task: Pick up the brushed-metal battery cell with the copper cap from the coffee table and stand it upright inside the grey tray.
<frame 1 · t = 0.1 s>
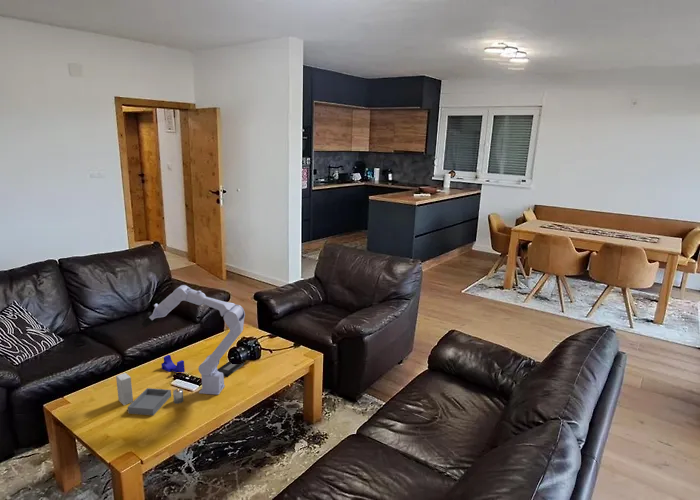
hand: (148, 322, 203), 32 cm above the table, tool tilted 50°, fingers open, 7 cm apart
cell: (178, 401, 198), on the table
skincare box: (125, 401, 198), on the table
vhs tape: (230, 370, 227), on the table
cable clip: (173, 370, 225), on the table
grey tray: (150, 404, 196), on the table
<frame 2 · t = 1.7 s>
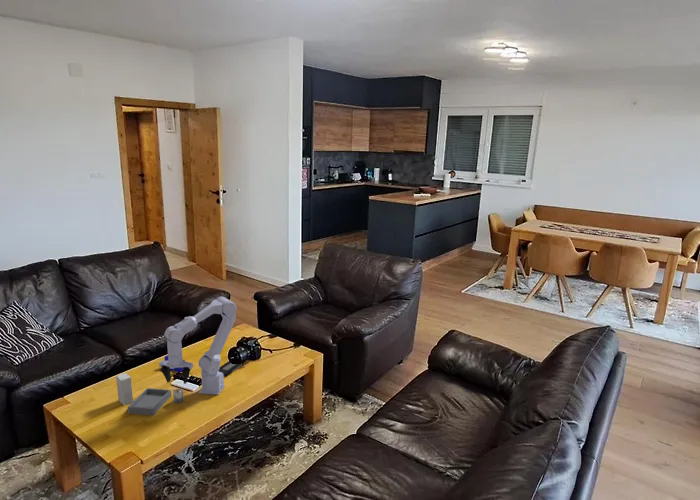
hand: (177, 382, 196), 9 cm above the table, tool pointing down, fingers open, 7 cm apart
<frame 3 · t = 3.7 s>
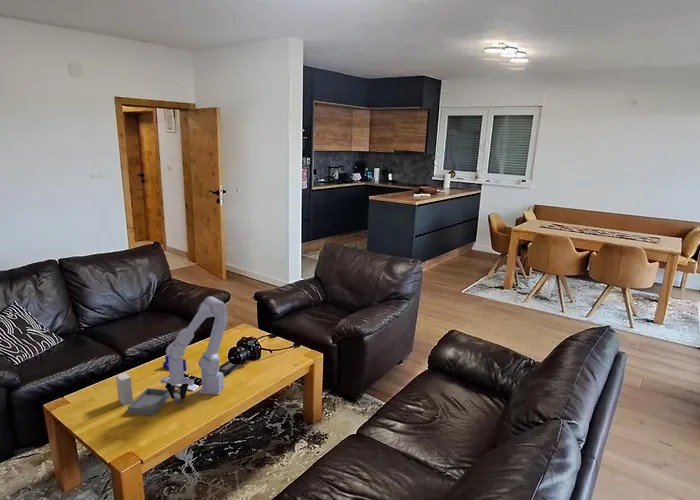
hand: (178, 398, 198), 1 cm above the table, tool pointing down, fingers closed on cell, 4 cm apart
cell: (178, 401, 198), on the table, touching gripper
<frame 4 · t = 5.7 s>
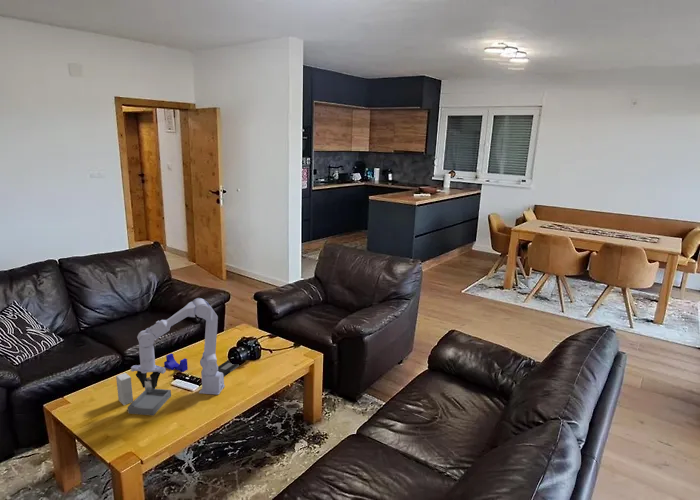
hand: (149, 386, 194), 8 cm above the table, tool pointing down, fingers closed on cell, 4 cm apart
cell: (150, 389, 194), point 7 cm above the table, touching gripper
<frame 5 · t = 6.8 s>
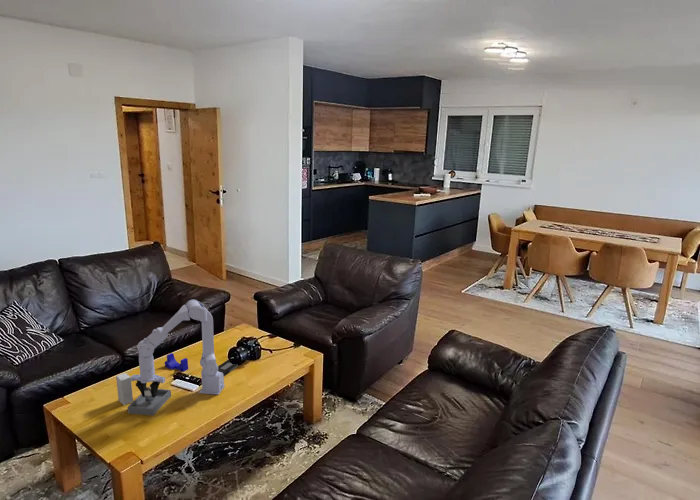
hand: (149, 396, 195), 4 cm above the table, tool pointing down, fingers closed on cell, 4 cm apart
cell: (149, 399, 195), point 3 cm above the table, touching gripper
when the fingers open (3 cm above the table, at t = 7.8 s): cell stays where it is, resting on grey tray.
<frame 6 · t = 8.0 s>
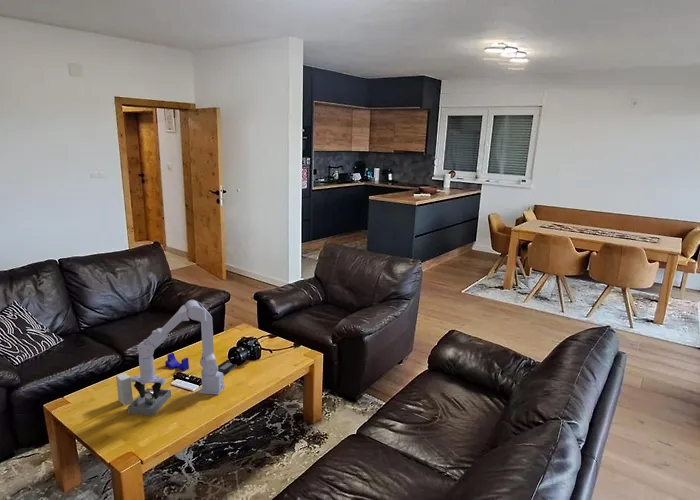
hand: (149, 397, 195), 3 cm above the table, tool pointing down, fingers open, 6 cm apart
cell: (150, 402, 195), point 1 cm above the table, touching grey tray
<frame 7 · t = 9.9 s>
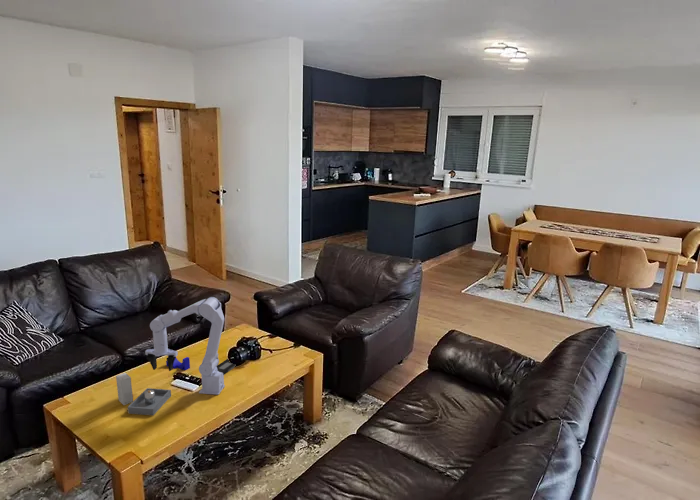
hand: (162, 369, 207), 9 cm above the table, tool pointing down, fingers open, 7 cm apart
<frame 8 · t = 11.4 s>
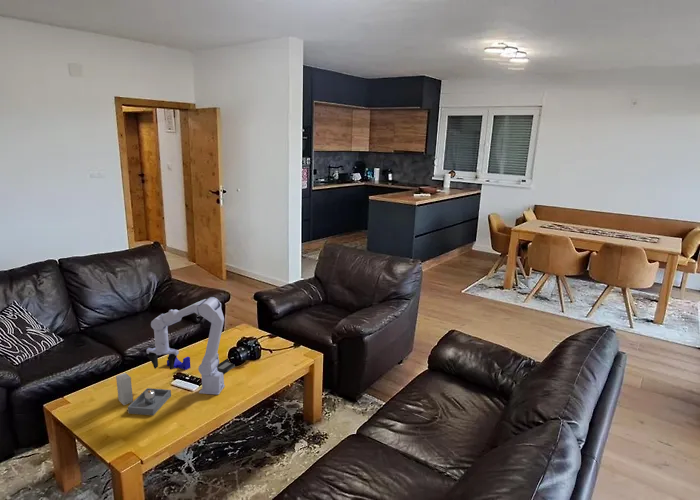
hand: (163, 368, 208), 9 cm above the table, tool pointing down, fingers open, 7 cm apart
at the end: cell inside the target area on the grey tray (0.0 cm from its centre), point 1.0 cm above the grey tray's base; cell tilted 0°; the gripper is holding nothing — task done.
